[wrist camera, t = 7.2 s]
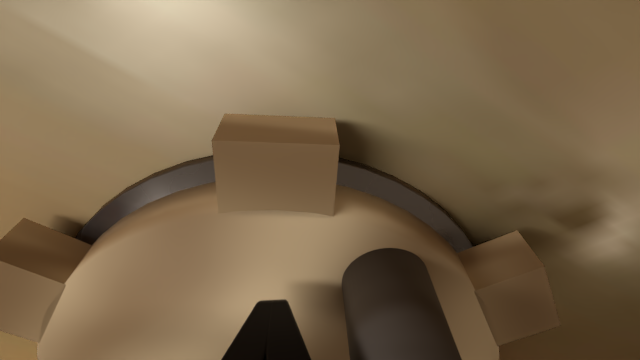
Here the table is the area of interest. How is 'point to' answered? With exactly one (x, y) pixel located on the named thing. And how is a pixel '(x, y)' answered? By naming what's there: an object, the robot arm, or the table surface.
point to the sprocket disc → (270, 267)
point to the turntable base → (204, 173)
